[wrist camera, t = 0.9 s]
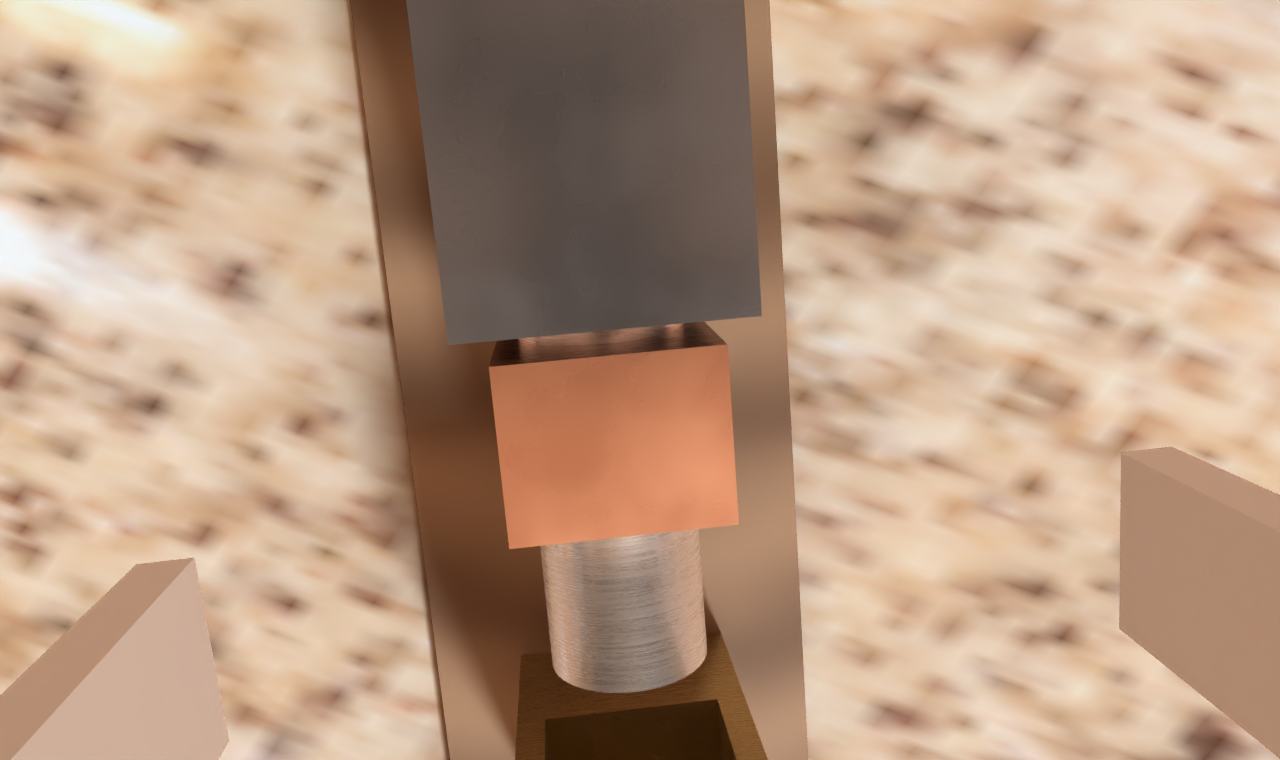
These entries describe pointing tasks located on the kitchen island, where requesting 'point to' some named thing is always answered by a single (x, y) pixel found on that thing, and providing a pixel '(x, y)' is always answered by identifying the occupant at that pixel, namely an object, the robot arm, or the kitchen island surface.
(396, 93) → the board
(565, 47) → the sleeve
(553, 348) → the rod
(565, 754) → the socket
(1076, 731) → the kitchen island surface
